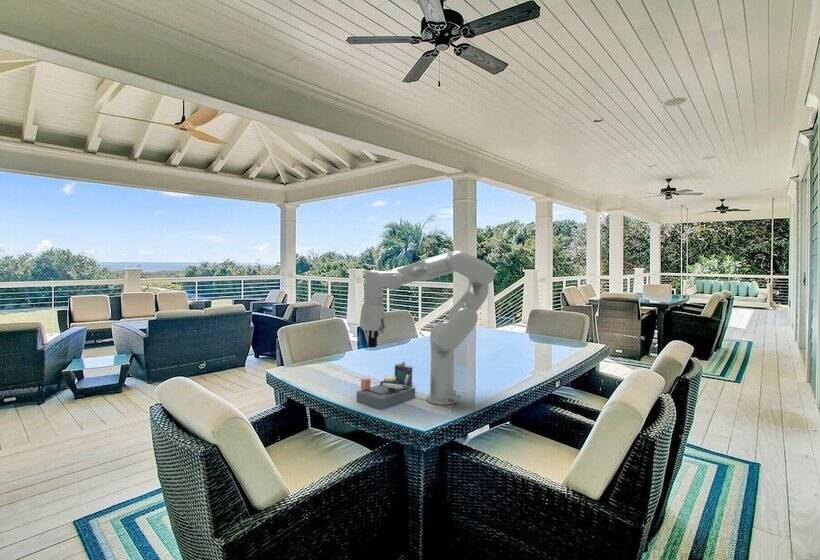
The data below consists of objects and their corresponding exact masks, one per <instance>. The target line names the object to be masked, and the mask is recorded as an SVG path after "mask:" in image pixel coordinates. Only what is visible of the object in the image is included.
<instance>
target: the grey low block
mask: <svg viewBox="0 0 820 560" xmlns="http://www.w3.org/2000/svg"><path fill="white" fill-rule="evenodd" d="M379 382H380V383H379V384H378V385H374V386H370V389H367V390H363V389H360V390H356V402H357V403H360V404H363V405H366V406H369V407H372V408H375V409H378V410H381V411H382V410H384V409H387V408H390V407H393V406H396V405H398V404H402V403H405V402H407V401H410V400H412V399H415V398H416V387H413V386H411V387H409V386H406V387H404V385H402V384H399V381H394V382H392V383H389V384H397V385H401V386H403V389H402V388H390V387H386V386H383V385H382V384H383V383H387V382H386V381H384V380H381V381H379Z"/></svg>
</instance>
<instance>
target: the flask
mask: <svg viewBox="0 0 820 560" xmlns="http://www.w3.org/2000/svg"><path fill="white" fill-rule="evenodd" d="M408 369H411V371H412V373H411V374H410V375H409V378H408V382H407V385H406V386H409V387H413V366H410V365H406V362H405V361H402V362H400V363H397V364H395V365H394V376H395V377H396V381H399V384H402V385H404V382H405V378H406V375H407V372H406V371H407V370H408Z"/></svg>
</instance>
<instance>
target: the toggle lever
mask: <svg viewBox="0 0 820 560" xmlns="http://www.w3.org/2000/svg"><path fill="white" fill-rule="evenodd" d="M406 372H407V375H406V378H405V382H404V387H406V385H407V382H408V378H409V375H410V374H411V373H412V374H413V370H412V371H411V369H408V370H407V371H406Z"/></svg>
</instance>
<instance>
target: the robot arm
mask: <svg viewBox="0 0 820 560" xmlns="http://www.w3.org/2000/svg"><path fill="white" fill-rule="evenodd" d="M453 273H458V274H460V275H462V276H464V277H465V278H468V286H467V289H466V291H465V292H464V294H463V295H461V297H460V298H459V299H458V300H457V302H456V303H455V304H454V305H453V306H452V307H451V308H450V309H449V312H448V321H447V322H446V323H445V322H438V323H437V324H435V325H434V326H433V327H432V329H431V330H430V335H429V336H430V337H429V339H430V384H429V385H430V387H429V388H430V390H429V394H427V395H426V401H427V402H428V403H430V404H434V405H439V406H449V405H453V404H456V403H457V402H460V401H461V398H462V396H461V394H457V392H456V391H457V390H456V389H454V387H455V386H454V384H455V383H454V382H455V380H454V379H455V377H454V376H455V349H457V348H458V347H459V346H460V345H461V344H462V343H463V342H464V340H465V339H466V338H467V337H468V335H470V333H471V332H472V331H473V330H474V328H475V327H476V326H477V323H478V320H479V316H478V311H479V309H480V308H481V307H482V306H483V305H484V303H485V302H486V300H487V298H488V296H489V284H491V283H492V282H493V281H494V279H495V277H496V272H495V269H494V268H493V266H492V265H491V264H489V263H488V262H485V261H483V260H481V259H480V258H477V257H475V256H473V255H472V254H470V253H468V252H466V251H464V250H461V249H460V250H459V249H458V250H451V251H448V252H443V253H441V254H437V255H433V256H430V257H427V258H423V259H420V260H418V261H415V262H412V263H410V264H406V265H403V266H399V267H396V268H392V269H389V270H378V269H369V270H366V271H365V272H364V285H363V286H364V292H363V296H364V297H363V304H362V305H361V310H360V320H359V326H360V327H359V328H361V329H362V331H363V332H364V333H366V336H367V338H368V341H367V342H368V343H367V344H368V345H367V347H368V348H371V349H373V348H377V346H378V342H377V341H378V338H379V335H382V334H384V330H385V328H386V327H385V326H386V313H385V312H386V311H385V305H384V289H389V290H397V289H400V288H401V287H402V286H403V285H406V284H409V283H414V282H420V281H428V280H433V279H436V278H438V277H441V276H446V275H450V274H453Z"/></svg>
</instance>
